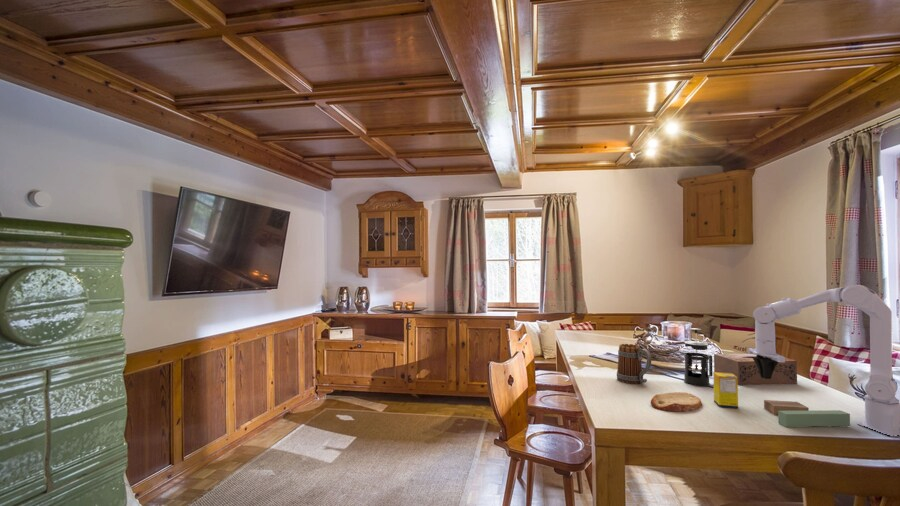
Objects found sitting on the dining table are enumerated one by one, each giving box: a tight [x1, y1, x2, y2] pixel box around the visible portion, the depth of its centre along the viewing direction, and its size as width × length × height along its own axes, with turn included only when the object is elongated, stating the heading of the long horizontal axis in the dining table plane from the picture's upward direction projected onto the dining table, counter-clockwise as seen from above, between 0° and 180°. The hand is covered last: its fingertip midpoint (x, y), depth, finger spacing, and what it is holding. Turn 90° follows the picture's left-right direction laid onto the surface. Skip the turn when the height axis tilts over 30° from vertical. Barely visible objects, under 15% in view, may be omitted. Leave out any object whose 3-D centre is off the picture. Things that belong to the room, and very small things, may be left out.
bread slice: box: [650, 391, 703, 413], centre depth 147 cm, size 18×18×4 cm
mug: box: [616, 343, 652, 385], centre depth 175 cm, size 16×11×15 cm
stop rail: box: [777, 409, 851, 428], centre depth 128 cm, size 3×20×4 cm, turn 91°
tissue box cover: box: [713, 353, 798, 386], centre depth 179 cm, size 26×14×10 cm, turn 93°
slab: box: [763, 399, 810, 416], centre depth 139 cm, size 6×10×4 cm, turn 78°
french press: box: [683, 327, 714, 387], centre depth 174 cm, size 12×9×23 cm
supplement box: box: [712, 371, 739, 409], centre depth 147 cm, size 6×6×11 cm
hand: (765, 378), depth 147 cm, fingers closed
